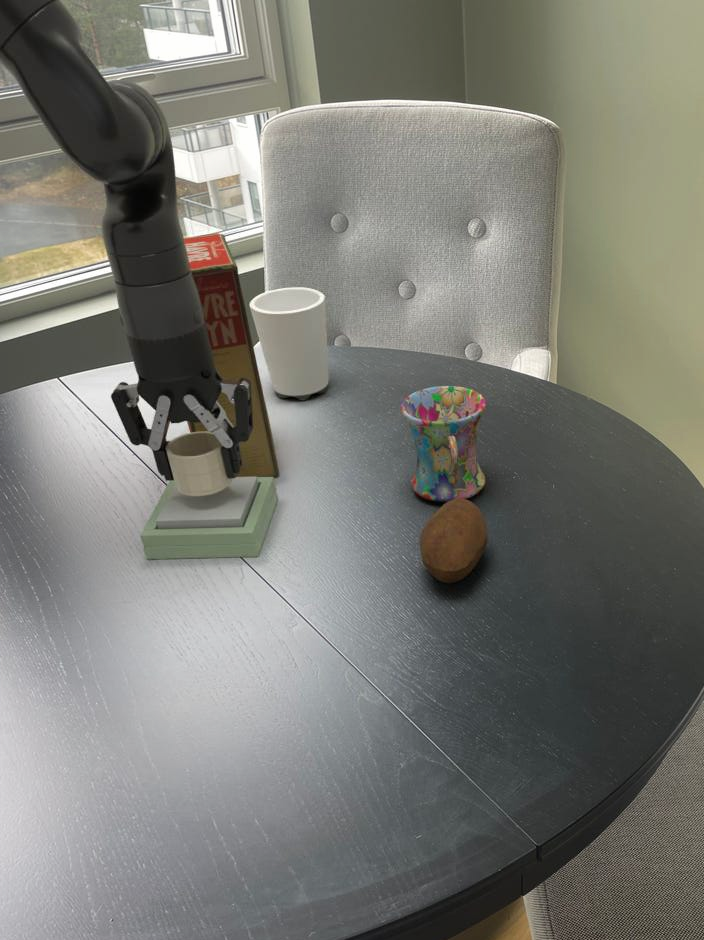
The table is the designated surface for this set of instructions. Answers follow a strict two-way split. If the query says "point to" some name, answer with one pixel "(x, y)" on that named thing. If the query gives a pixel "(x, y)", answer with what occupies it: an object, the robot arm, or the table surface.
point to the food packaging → (231, 345)
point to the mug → (445, 441)
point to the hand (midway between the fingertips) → (202, 475)
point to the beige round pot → (197, 464)
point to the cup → (293, 339)
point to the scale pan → (210, 507)
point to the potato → (453, 540)
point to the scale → (212, 531)
